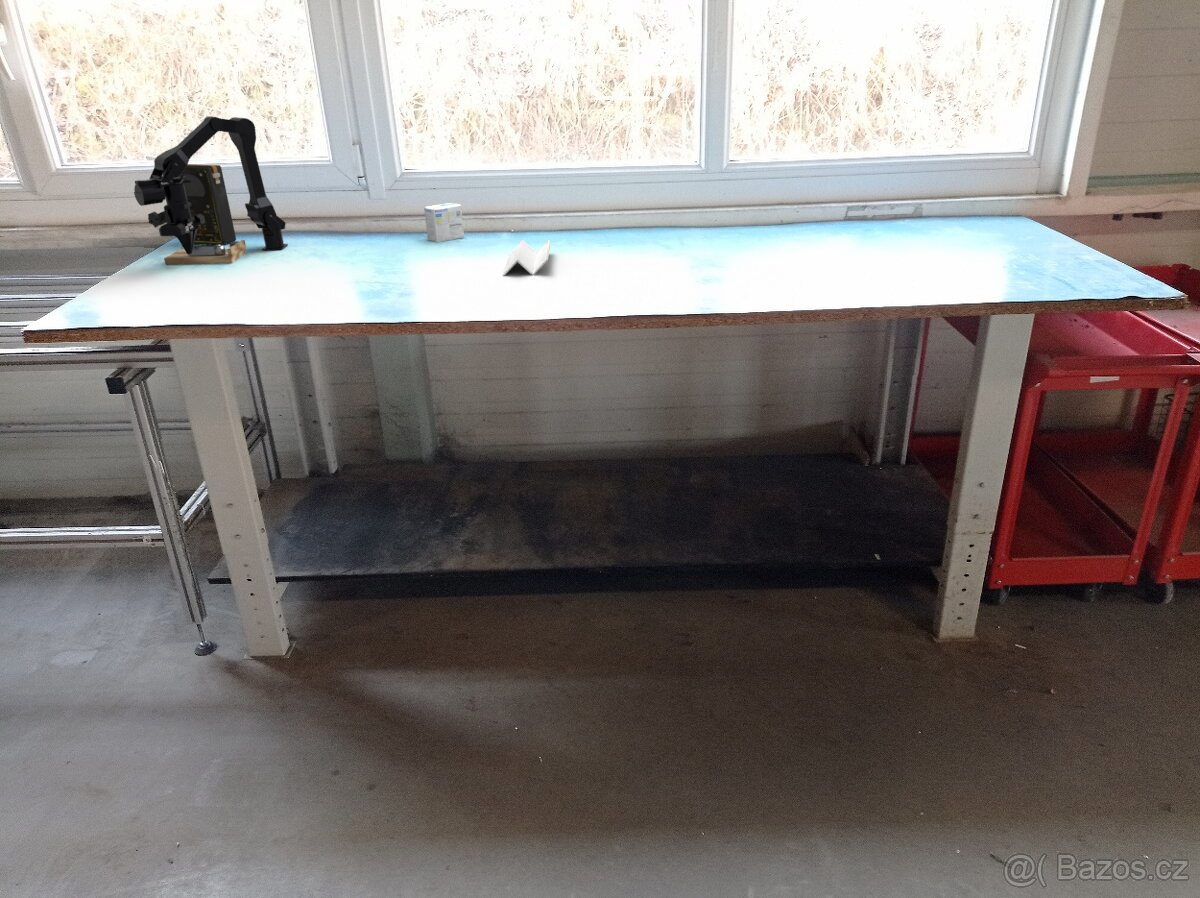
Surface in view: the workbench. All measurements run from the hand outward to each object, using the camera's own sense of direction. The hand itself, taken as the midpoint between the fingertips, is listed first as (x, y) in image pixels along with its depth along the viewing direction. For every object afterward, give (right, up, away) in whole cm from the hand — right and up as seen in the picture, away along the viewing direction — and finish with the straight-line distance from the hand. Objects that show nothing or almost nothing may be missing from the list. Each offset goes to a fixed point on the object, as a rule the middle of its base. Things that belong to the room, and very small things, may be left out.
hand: (189, 253), depth 255 cm
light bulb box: (+72, +11, +28) cm, 78 cm away
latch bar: (+4, +1, +4) cm, 6 cm away
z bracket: (+102, -5, -4) cm, 102 cm away
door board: (+1, 0, +8) cm, 8 cm away
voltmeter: (-6, +10, +29) cm, 31 cm away
